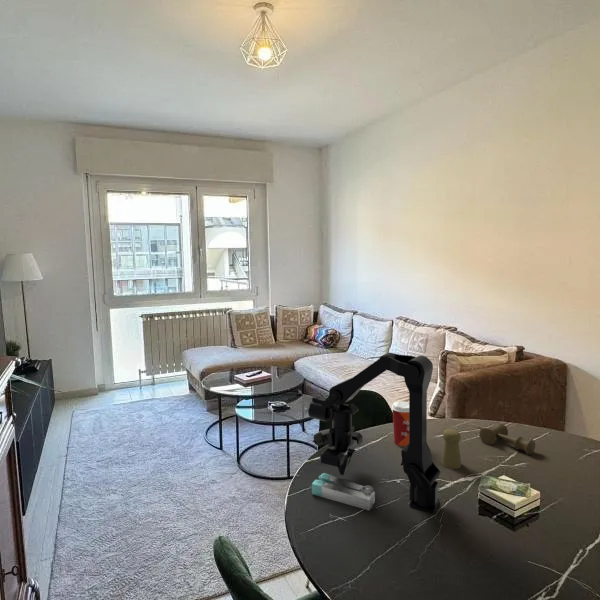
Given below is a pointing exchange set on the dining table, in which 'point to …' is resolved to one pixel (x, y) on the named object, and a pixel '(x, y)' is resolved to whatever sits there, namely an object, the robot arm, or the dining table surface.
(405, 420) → the paper cup
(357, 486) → the moving jaw
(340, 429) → the robot arm
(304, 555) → the dining table surface
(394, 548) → the dining table surface
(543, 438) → the dining table surface
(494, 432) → the kendama
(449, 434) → the cork
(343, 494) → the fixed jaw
